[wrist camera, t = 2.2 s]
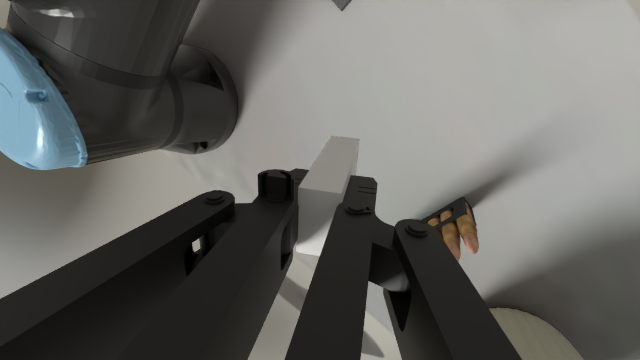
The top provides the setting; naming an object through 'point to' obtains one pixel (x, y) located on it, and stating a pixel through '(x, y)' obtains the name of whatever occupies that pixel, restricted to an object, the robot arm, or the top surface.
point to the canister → (534, 336)
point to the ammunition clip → (456, 226)
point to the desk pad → (341, 3)
